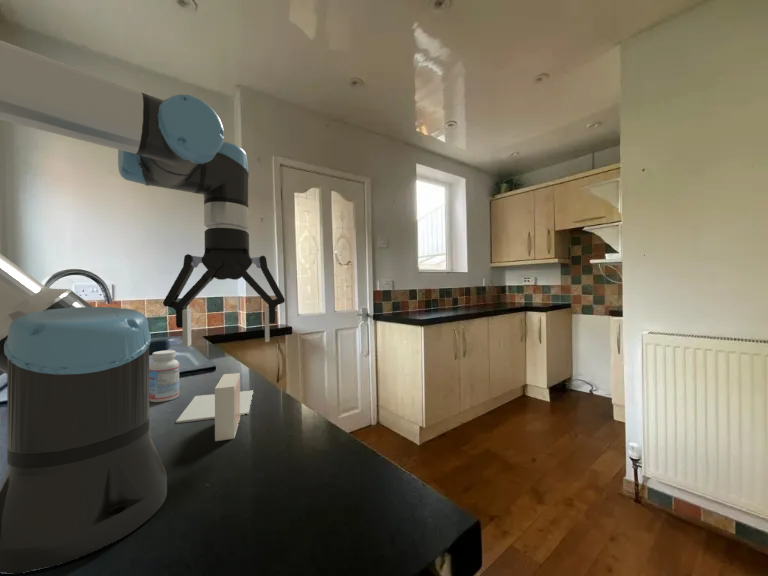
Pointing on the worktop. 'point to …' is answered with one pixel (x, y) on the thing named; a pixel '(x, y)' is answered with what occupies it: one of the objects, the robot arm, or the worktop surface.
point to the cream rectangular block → (227, 406)
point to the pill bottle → (163, 376)
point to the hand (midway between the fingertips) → (228, 343)
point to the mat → (211, 407)
